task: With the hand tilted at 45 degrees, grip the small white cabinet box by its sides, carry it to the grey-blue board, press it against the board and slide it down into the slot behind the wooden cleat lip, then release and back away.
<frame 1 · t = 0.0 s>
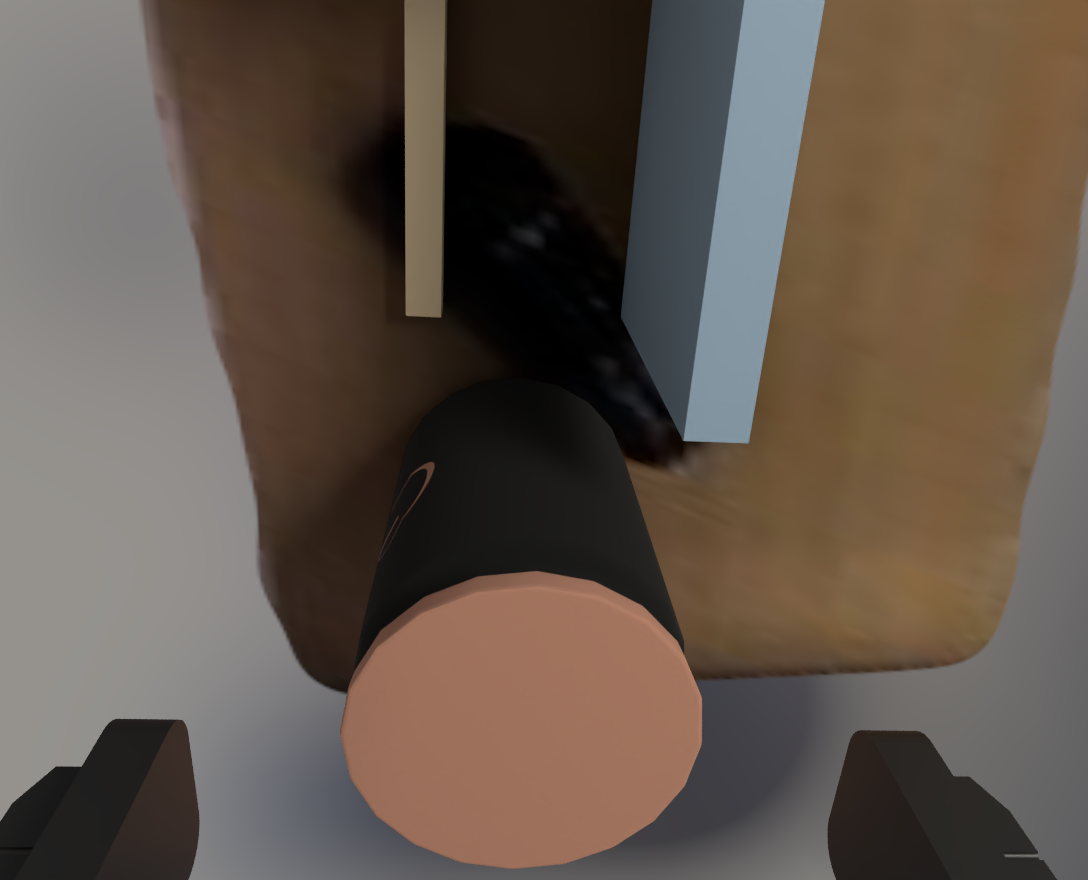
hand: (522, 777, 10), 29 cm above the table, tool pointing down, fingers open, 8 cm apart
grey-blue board: (669, 78, 34), on the table
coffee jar: (513, 470, 41), on the table
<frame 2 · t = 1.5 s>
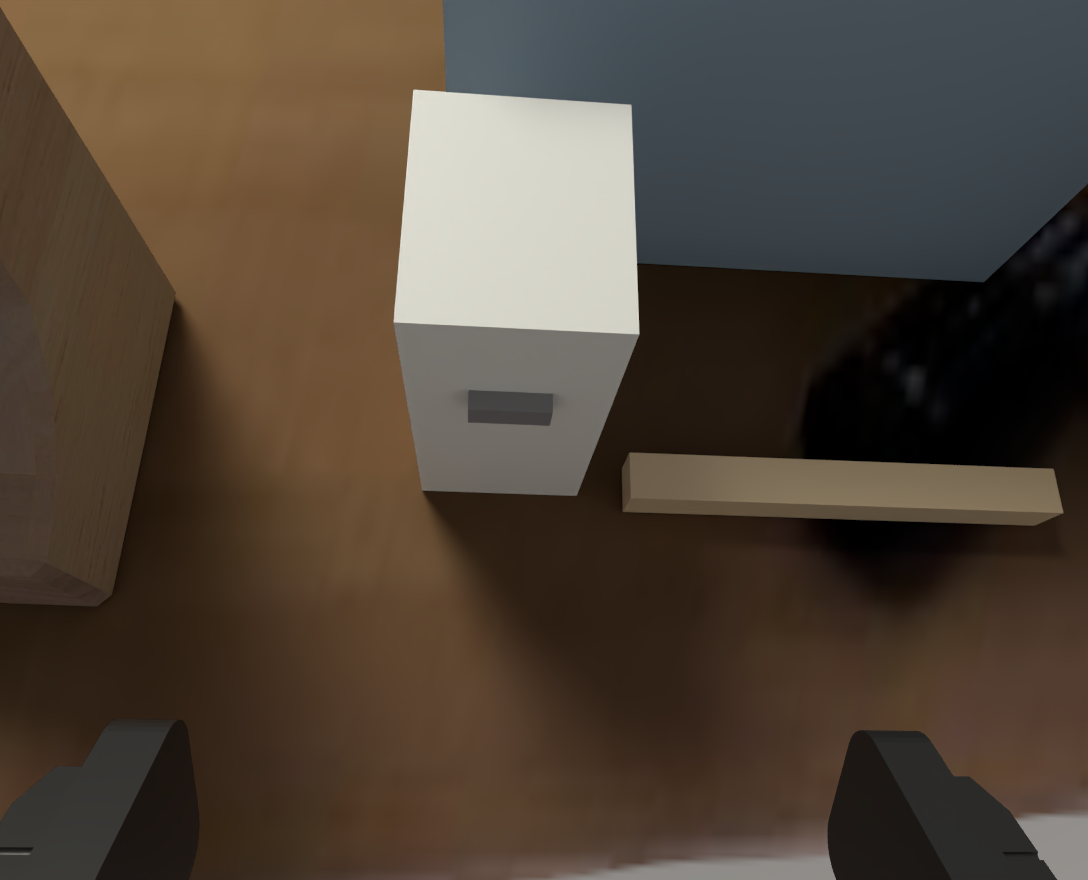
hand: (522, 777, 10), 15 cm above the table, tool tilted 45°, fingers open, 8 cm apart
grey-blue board: (722, 244, 32), on the table
decorative block: (64, 435, 27), on the table
cabinet: (502, 408, 28), on the table
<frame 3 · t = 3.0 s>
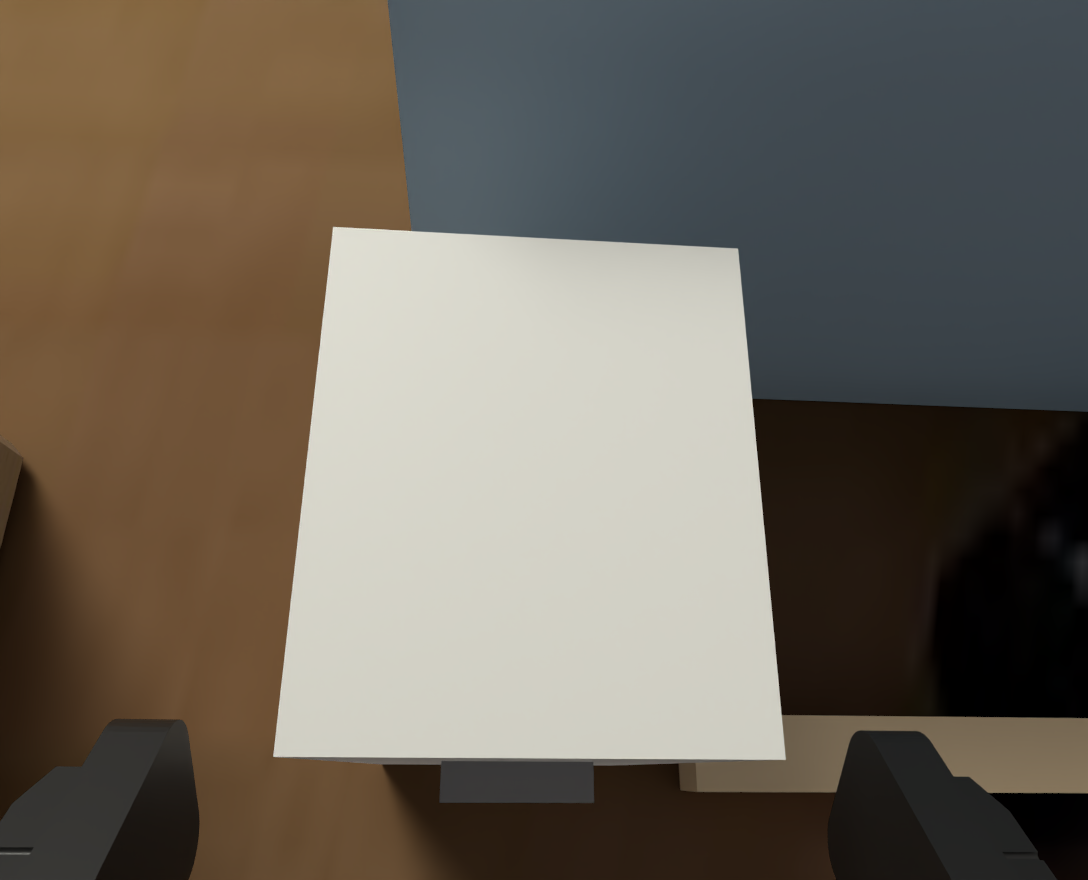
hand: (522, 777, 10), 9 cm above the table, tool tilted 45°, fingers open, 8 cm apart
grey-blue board: (805, 366, 23), on the table
cabinet: (501, 625, 20), on the table
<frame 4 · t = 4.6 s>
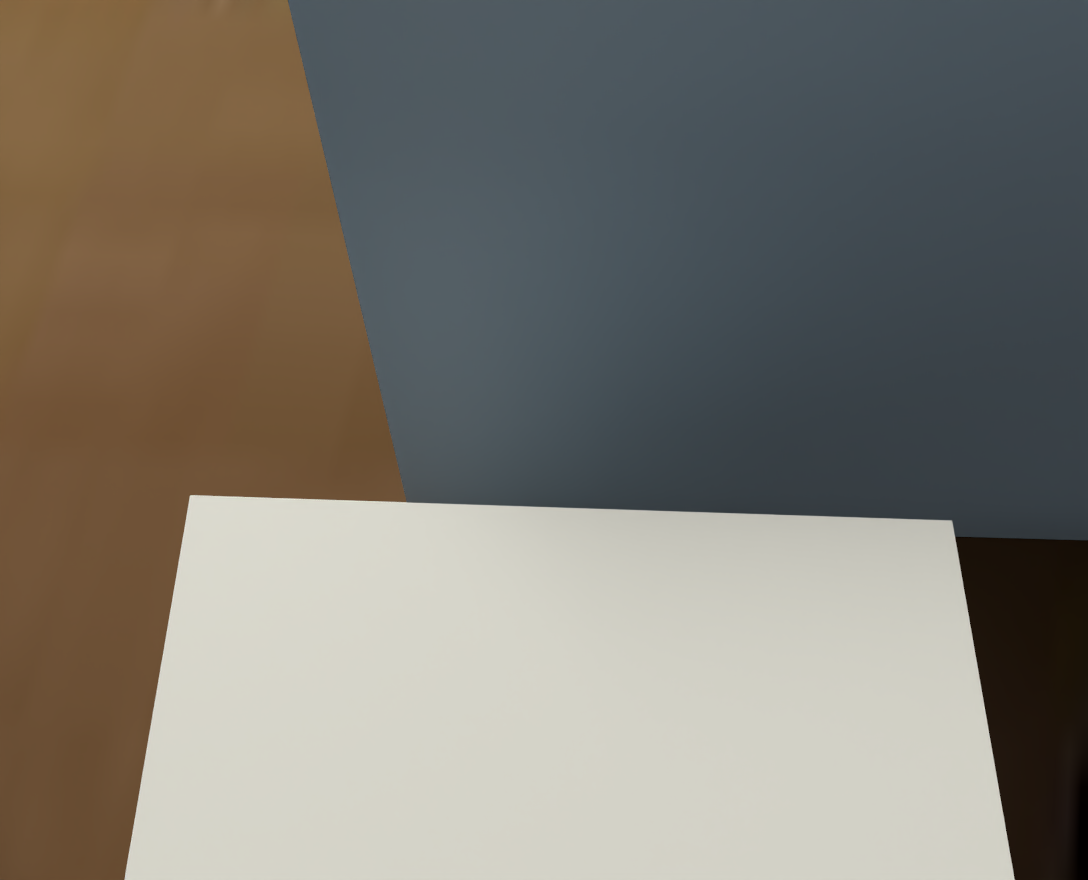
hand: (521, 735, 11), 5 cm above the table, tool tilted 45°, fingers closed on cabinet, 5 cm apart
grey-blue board: (894, 488, 18), on the table
cabinet: (505, 859, 15), on the table, touching gripper
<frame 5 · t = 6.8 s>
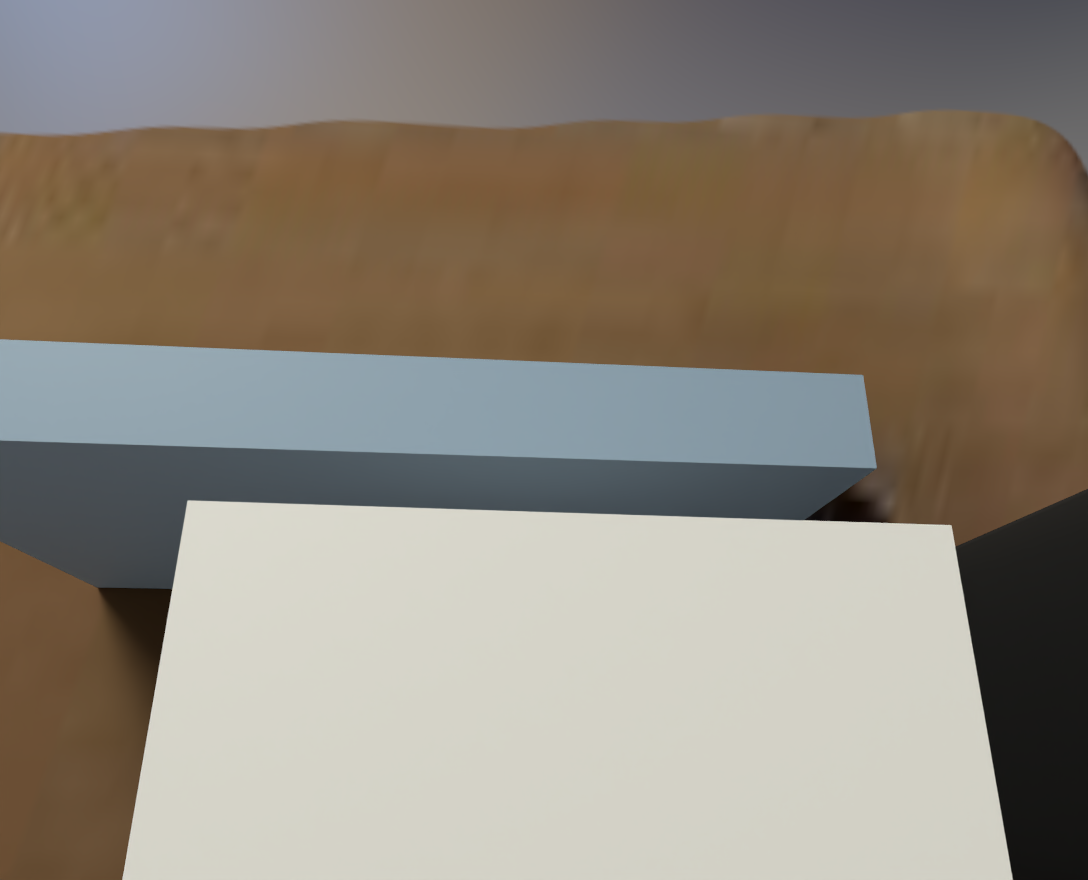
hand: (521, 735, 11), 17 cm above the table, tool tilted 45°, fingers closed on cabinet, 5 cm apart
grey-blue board: (405, 563, 29), on the table
cabinet: (505, 861, 15), point 13 cm above the table, touching gripper
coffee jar: (930, 736, 29), on the table
when the fingers open (6 cm above the table, at t = 9.1 s): cabinet drops 1 cm, on the table.
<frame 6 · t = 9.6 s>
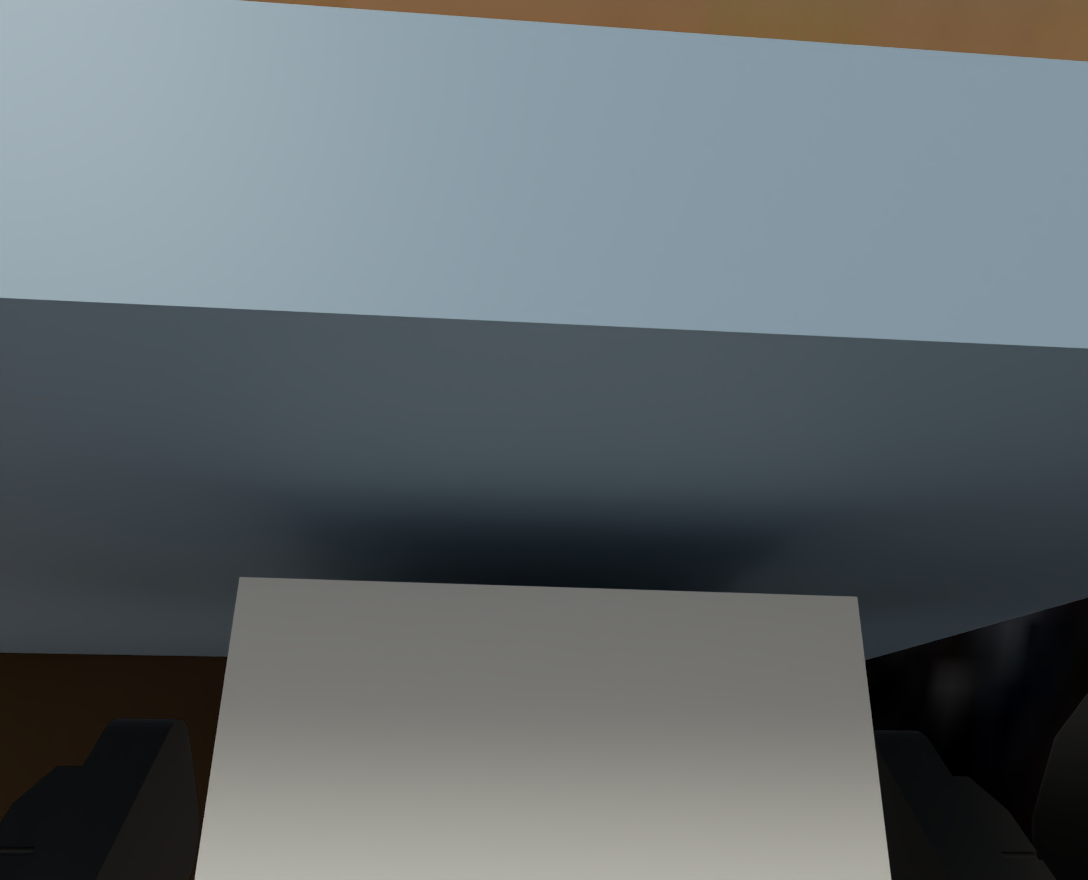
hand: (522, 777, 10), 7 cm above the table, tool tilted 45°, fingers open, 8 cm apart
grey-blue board: (361, 609, 17), on the table
cabinet: (499, 862, 16), on the table
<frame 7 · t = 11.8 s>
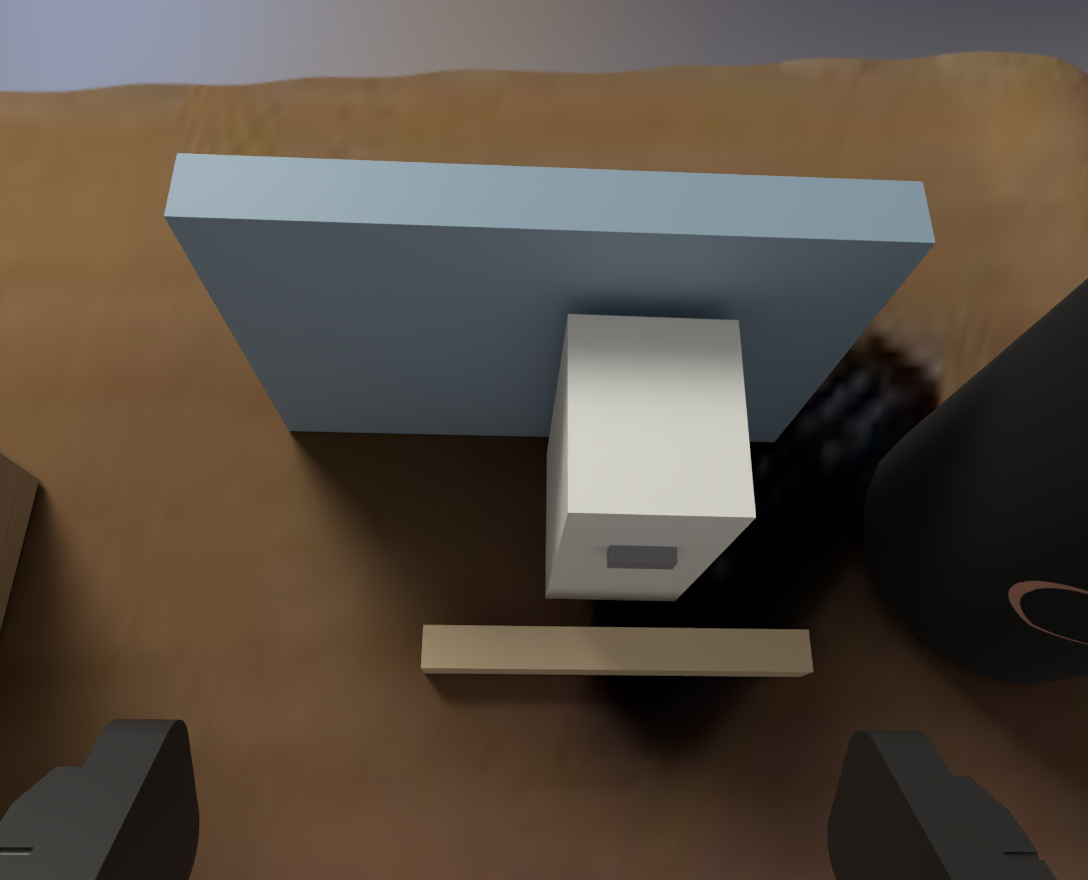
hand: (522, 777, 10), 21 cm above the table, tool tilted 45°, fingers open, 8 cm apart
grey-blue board: (535, 414, 35), on the table
cabinet: (608, 524, 34), on the table
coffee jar: (978, 551, 34), on the table
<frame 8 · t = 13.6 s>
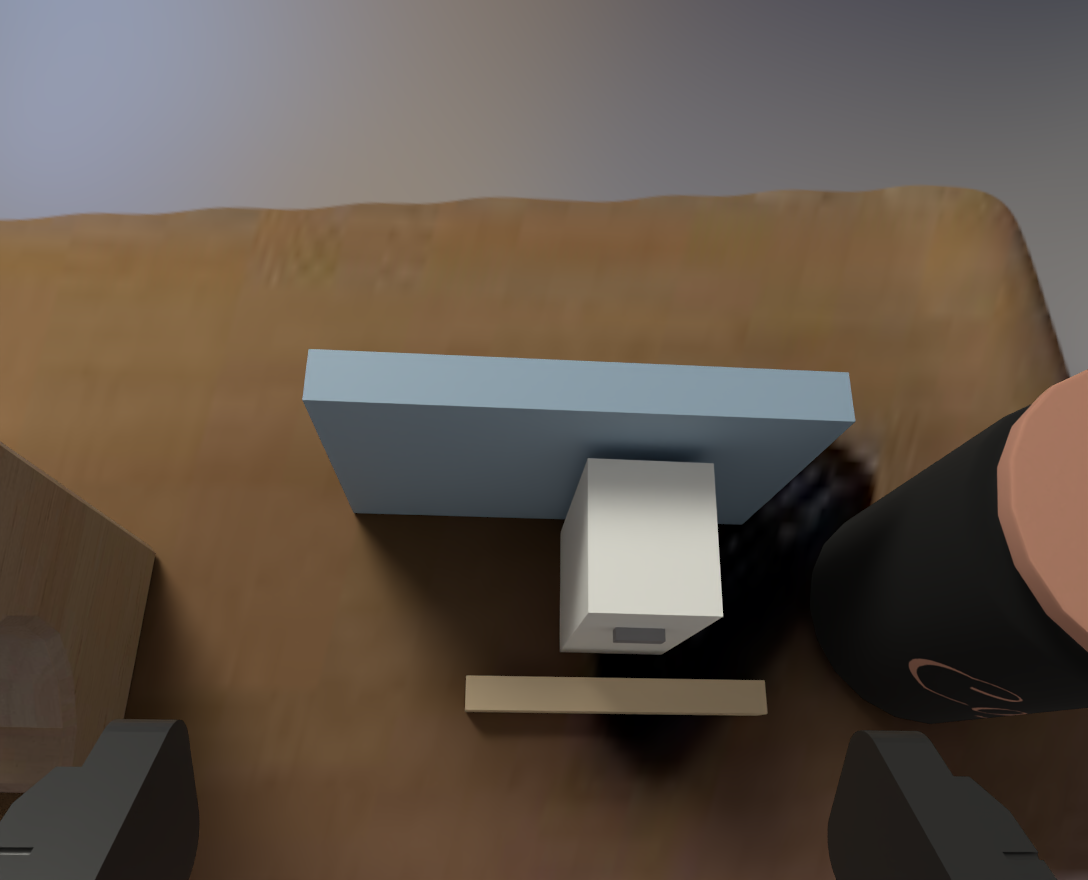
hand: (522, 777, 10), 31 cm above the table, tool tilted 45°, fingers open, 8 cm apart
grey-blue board: (551, 500, 44), on the table
decorative block: (78, 661, 39), on the table
cabinet: (609, 592, 42), on the table
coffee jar: (900, 615, 43), on the table
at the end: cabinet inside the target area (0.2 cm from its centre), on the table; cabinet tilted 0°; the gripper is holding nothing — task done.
